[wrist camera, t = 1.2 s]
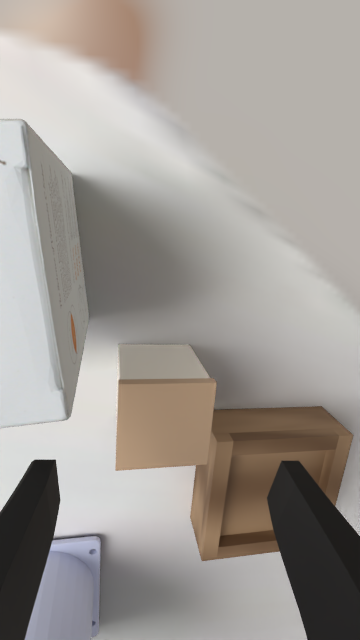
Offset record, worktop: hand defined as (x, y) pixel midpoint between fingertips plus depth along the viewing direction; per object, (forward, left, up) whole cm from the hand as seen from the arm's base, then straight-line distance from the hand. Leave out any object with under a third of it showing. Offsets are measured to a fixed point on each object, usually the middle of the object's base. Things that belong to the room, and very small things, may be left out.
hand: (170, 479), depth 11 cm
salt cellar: (-1, -1, -11) cm, 11 cm away
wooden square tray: (-8, -9, -11) cm, 16 cm away
